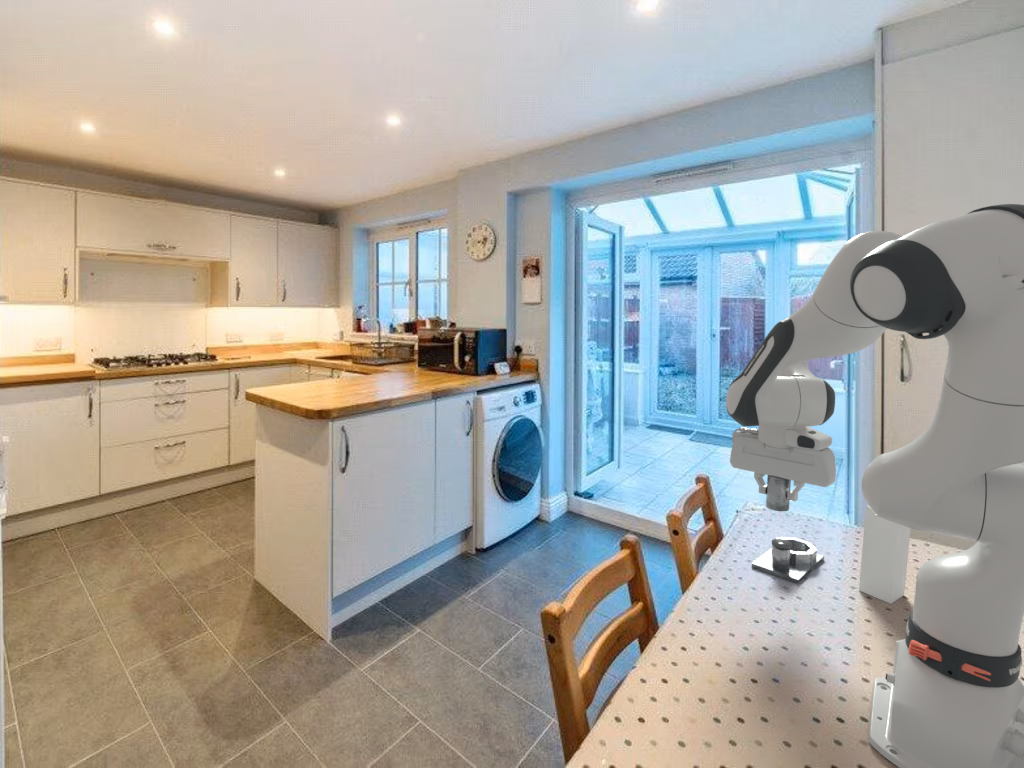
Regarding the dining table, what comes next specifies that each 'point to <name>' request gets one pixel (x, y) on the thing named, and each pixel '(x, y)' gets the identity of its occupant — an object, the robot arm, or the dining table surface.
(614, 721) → the dining table surface
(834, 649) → the dining table surface
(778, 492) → the grey cylindrical peg
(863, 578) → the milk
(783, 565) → the flange
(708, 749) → the dining table surface
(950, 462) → the robot arm
